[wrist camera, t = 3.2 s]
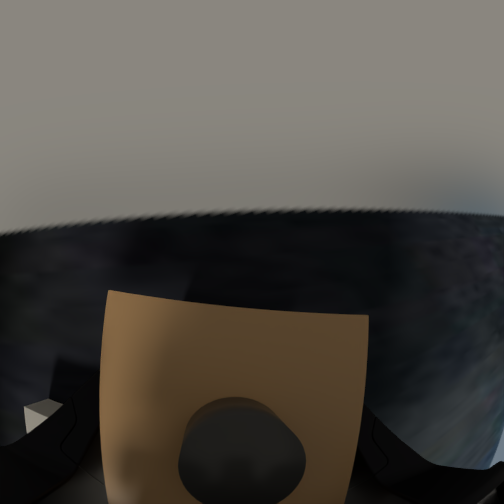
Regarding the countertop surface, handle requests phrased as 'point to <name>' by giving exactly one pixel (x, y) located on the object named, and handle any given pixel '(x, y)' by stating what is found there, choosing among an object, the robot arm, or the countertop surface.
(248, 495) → the plug
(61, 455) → the robot arm
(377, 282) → the countertop surface
